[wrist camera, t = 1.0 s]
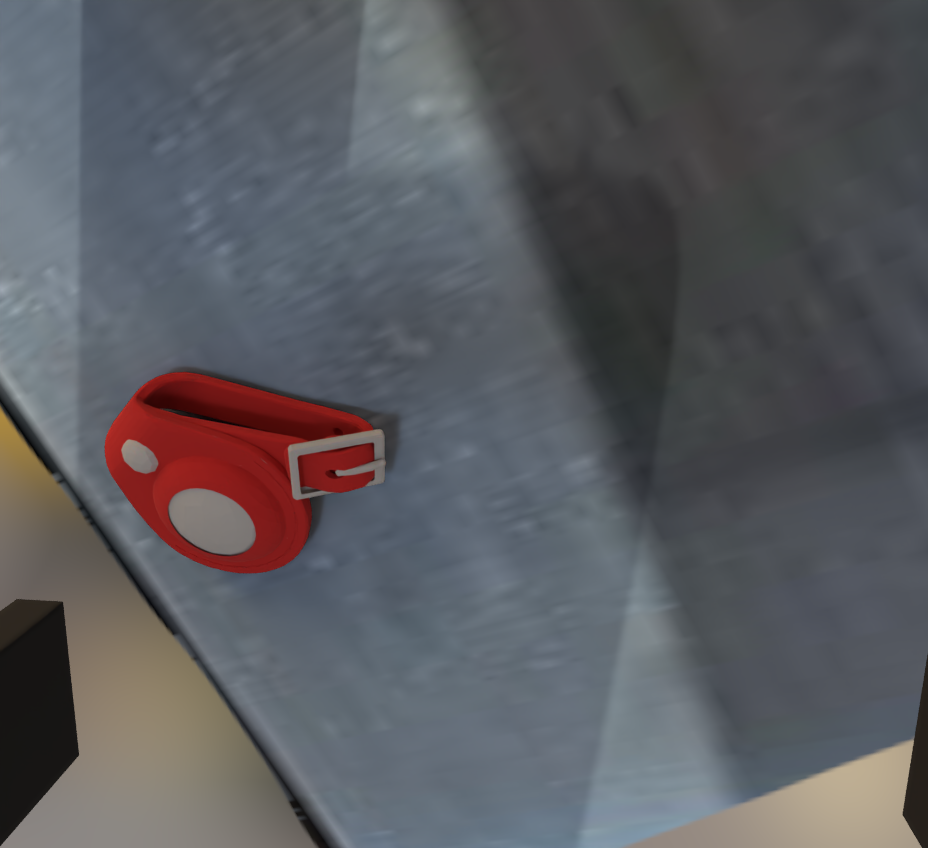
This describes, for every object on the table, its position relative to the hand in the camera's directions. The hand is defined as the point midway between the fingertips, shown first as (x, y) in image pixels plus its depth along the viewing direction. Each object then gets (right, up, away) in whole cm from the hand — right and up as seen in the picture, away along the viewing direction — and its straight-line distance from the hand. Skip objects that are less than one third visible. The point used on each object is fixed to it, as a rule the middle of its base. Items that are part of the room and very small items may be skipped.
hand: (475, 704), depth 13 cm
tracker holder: (-9, +2, +25) cm, 27 cm away
